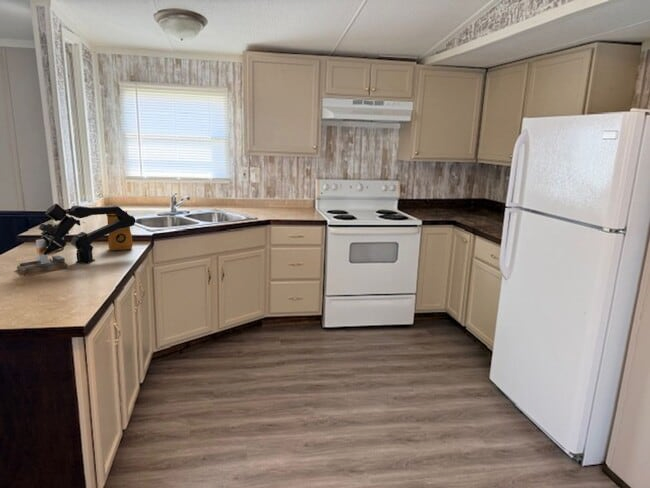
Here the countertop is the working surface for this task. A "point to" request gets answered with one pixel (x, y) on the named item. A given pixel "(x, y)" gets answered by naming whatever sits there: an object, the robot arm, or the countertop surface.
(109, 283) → the countertop surface
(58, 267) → the base
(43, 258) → the sliding jaw
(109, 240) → the coffee package
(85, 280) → the countertop surface
